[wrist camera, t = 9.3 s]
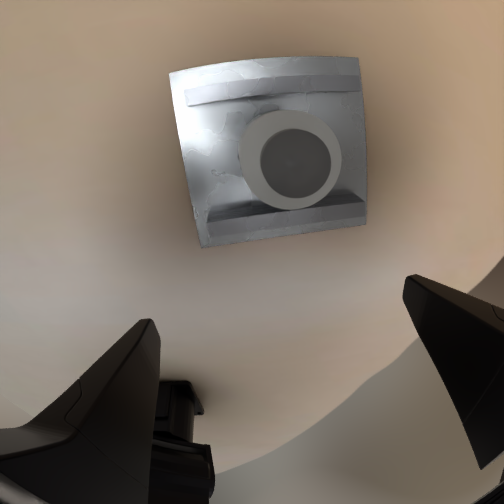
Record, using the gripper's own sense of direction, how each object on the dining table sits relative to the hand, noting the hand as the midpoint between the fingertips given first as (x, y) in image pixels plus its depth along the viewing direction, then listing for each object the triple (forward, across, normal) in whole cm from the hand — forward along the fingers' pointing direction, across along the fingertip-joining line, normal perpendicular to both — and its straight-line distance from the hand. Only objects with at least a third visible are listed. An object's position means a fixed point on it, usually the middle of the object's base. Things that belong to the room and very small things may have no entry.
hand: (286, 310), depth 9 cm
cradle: (+11, -2, -4) cm, 12 cm away
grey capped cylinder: (+11, -2, -4) cm, 12 cm away
